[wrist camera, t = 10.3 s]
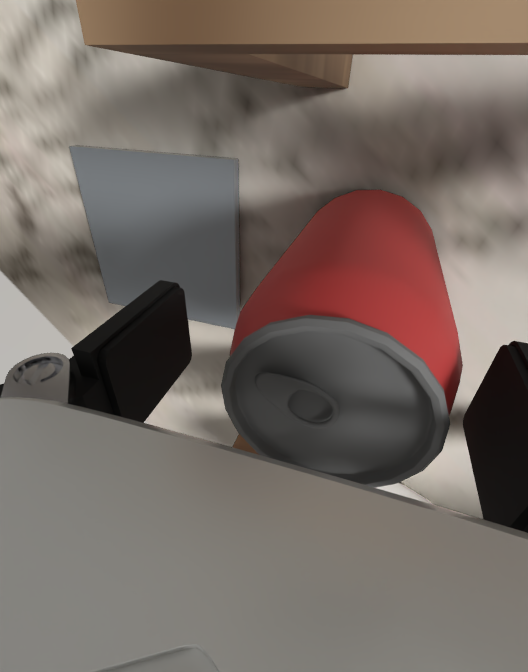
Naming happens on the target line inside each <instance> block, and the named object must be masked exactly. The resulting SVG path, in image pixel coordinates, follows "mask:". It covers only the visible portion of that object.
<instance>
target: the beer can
mask: <svg viewBox="0 0 528 672" xmlns="http://www.w3.org/2000/svg"><path fill="white" fill-rule="evenodd" d="M462 366H463V364H462V358H461V351H460V345H459V339H458V332H457V328H456V324H455V320H454V316H453V312H452V308H451V304H450V300H449V296H448V292H447V288H446V285H445V281H444V277H443V273H442V269H441V265H440V261H439V257H438V253H437V249H436V245H435V241H434V237H433V233H432V229H431V228H430V226H429V224H428V223H427V221H426V219H425V218H424V216H423V214H422V213H421V211H420V210H419V209H417V208H416V207H415V206H414V205H412V204H411V203H410V202H408V201H407V200H406V199H405V198H403V197H401V196H398V195H395V194H392V193H389V192H386V191H383V190H356V191H353V192H350V193H348V194H345V195H342V196H339V197H336V198H334V199H333V200H332V201H330V202H329V203H328V204H326V205H325V206H324V207H322V208H321V209H320V210H318V211H317V213H316V214H315V215H314V216H313V218H312V219H311V220H310V221H309V223H308V224H307V225H306V226H305V228H304V229H303V230H302V232H301V233H300V234H299V235H298V237H297V238H296V239H295V240H294V242H293V243H292V244H291V245H290V247H289V248H288V249H287V250H286V252H285V253H284V254H283V255H282V257H281V258H280V259H279V260H278V262H277V263H276V264H275V265H274V267H273V268H272V269H271V271H270V272H269V273H268V274H267V276H266V277H265V278H264V279H263V281H262V282H261V283H260V284H259V286H258V287H257V288H256V290H255V291H254V293H253V294H252V295H251V297H250V298H249V300H248V301H247V303H246V304H245V306H244V307H243V309H242V310H241V312H240V314H239V317H238V321H237V324H236V327H235V332H234V336H233V341H232V346H231V350H230V357H229V359H228V360H227V362H226V365H225V370H224V375H223V379H222V384H221V388H222V393H223V398H224V404H225V409H226V411H227V413H228V415H229V417H230V418H231V420H232V422H233V424H234V426H235V428H236V429H237V431H238V433H239V434H240V435H241V436H242V437H243V438H244V439H245V440H246V442H247V443H248V444H249V445H250V446H251V447H252V448H253V449H254V450H255V451H256V452H257V453H258V454H259V455H261V456H265V457H268V458H272V459H275V460H279V461H282V462H286V463H289V464H293V465H297V466H300V467H304V468H307V469H311V470H314V471H318V472H321V473H325V474H328V475H332V476H336V477H339V478H342V479H346V480H349V481H353V482H356V483H360V484H363V485H367V486H370V487H374V488H376V487H382V486H387V485H393V484H396V483H399V482H401V481H403V480H405V479H407V478H409V477H411V476H413V475H415V474H417V473H419V472H421V471H423V470H424V469H425V468H426V467H427V466H428V465H429V464H430V463H431V462H432V461H433V460H434V459H435V458H436V457H437V455H438V454H439V453H440V452H441V451H442V449H443V446H444V443H445V439H446V436H447V433H448V430H449V426H450V420H449V414H450V412H451V410H452V406H453V403H454V400H455V396H456V393H457V390H458V386H459V383H460V378H461V372H462Z"/></svg>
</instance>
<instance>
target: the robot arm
mask: <svg viewBox="0 0 528 672" xmlns="http://www.w3.org/2000/svg"><path fill="white" fill-rule="evenodd" d="M72 351H73V354H74V356H73V357H72V358H70V359H68V358H67V357H66V356H65V355H62V354H59V353H44V354H39V355H35V356H32V357H29V358H27V359H25V360H23V361H21V362H19V363H18V364H16V365H15V366H14V367H13V368H12V369H11V370H10V371H9V372H8V374H7V376H6V379H5V383H4V384H1V385H0V672H528V343H523V342H517V341H513V342H511V343H510V344H509V345H502V346H501V347H500V349H499V351H498V353H497V354H496V356H495V358H494V360H493V362H492V364H491V366H490V368H489V370H488V371H487V373H486V375H485V377H484V379H483V381H482V383H481V385H480V387H479V389H478V390H477V392H476V394H475V396H474V398H473V400H472V402H471V404H470V406H469V408H468V409H467V411H466V413H465V416H464V420H463V428H464V432H465V437H466V441H467V446H468V450H469V455H470V459H471V464H472V468H473V473H474V477H475V482H476V487H477V491H478V496H479V500H480V505H481V509H482V514H483V518H484V520H483V519H480V518H477V517H473V516H470V515H467V514H463V513H460V512H457V511H454V510H450V509H447V508H444V507H440V506H437V505H433V504H430V503H426V502H423V501H419V500H416V499H412V498H409V497H405V496H402V495H398V494H395V493H391V492H388V491H384V490H381V489H377V488H374V487H370V486H367V485H363V484H360V483H356V482H353V481H349V480H346V479H342V478H339V477H336V476H332V475H328V474H325V473H321V472H318V471H314V470H311V469H307V468H304V467H300V466H297V465H293V464H289V463H286V462H282V461H279V460H275V459H272V458H268V457H265V456H261V455H258V454H254V453H250V452H247V451H243V450H240V449H236V448H233V447H229V446H225V445H222V444H218V443H215V442H211V441H207V440H204V439H200V438H197V437H193V436H189V435H186V434H182V433H178V432H175V431H171V430H167V429H164V428H160V427H157V426H153V425H149V424H145V423H144V421H145V420H146V419H147V417H148V416H149V415H150V414H151V412H152V411H153V410H154V408H155V407H156V406H157V405H158V403H159V402H160V401H161V399H162V398H163V397H164V395H165V394H166V393H167V392H168V390H169V389H170V388H171V386H172V385H173V384H174V382H175V381H176V380H177V379H178V377H179V376H180V375H181V373H182V372H183V371H184V369H185V368H186V367H187V366H188V364H189V363H190V360H191V356H192V352H191V343H190V335H189V326H188V318H187V309H186V300H185V293H184V290H183V289H182V288H180V286H179V284H178V283H175V282H169V281H164V280H160V281H158V282H157V283H155V284H154V285H153V286H151V287H150V288H149V289H148V290H146V291H145V292H144V293H142V294H141V295H140V296H138V297H137V298H136V299H135V300H133V301H132V302H131V303H129V304H128V305H127V306H126V307H124V308H123V309H122V310H120V311H119V312H118V313H116V314H115V315H114V316H113V317H111V318H110V319H109V320H107V321H106V322H105V323H104V324H102V325H101V326H100V327H98V328H97V329H96V330H94V331H93V332H92V333H91V334H89V335H88V336H87V337H85V338H84V339H83V340H82V341H80V342H79V343H78V344H76V345H75V346H74V347H72Z"/></svg>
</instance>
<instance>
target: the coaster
mask: <svg viewBox="0 0 528 672" xmlns="http://www.w3.org/2000/svg"><path fill="white" fill-rule="evenodd" d="M69 148H70V152H71V156H72V159H73V163H74V167H75V171H76V175H77V179H78V183H79V187H80V191H81V195H82V199H83V203H84V207H85V210H86V214H87V218H88V222H89V226H90V230H91V234H92V238H93V242H94V246H95V250H96V254H97V258H98V261H99V265H100V269H101V273H102V277H103V281H104V285H105V289H106V293H107V297H108V301H109V303H114V304H118V305H123V306H127V305H128V304H129V303H131V302H132V301H133V300H135V299H136V298H137V297H138V296H140V295H141V294H142V293H144V292H145V291H146V290H148V289H149V288H150V287H151V286H153V285H154V284H155V283H157V282H158V281H160V280H164V281H169V282H175V283H178V284H179V286H180V288H182V289H183V290H184V293H185V300H186V309H187V318H188V319H189V320H194V321H198V322H203V323H208V324H212V325H217V326H222V327H227V328H231V329H235V327H236V324H237V321H238V317H239V314H240V269H239V168H238V158H226V157H214V156H201V155H189V154H177V153H165V152H153V151H141V150H128V149H116V148H104V147H92V146H80V145H75V146H69Z"/></svg>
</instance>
